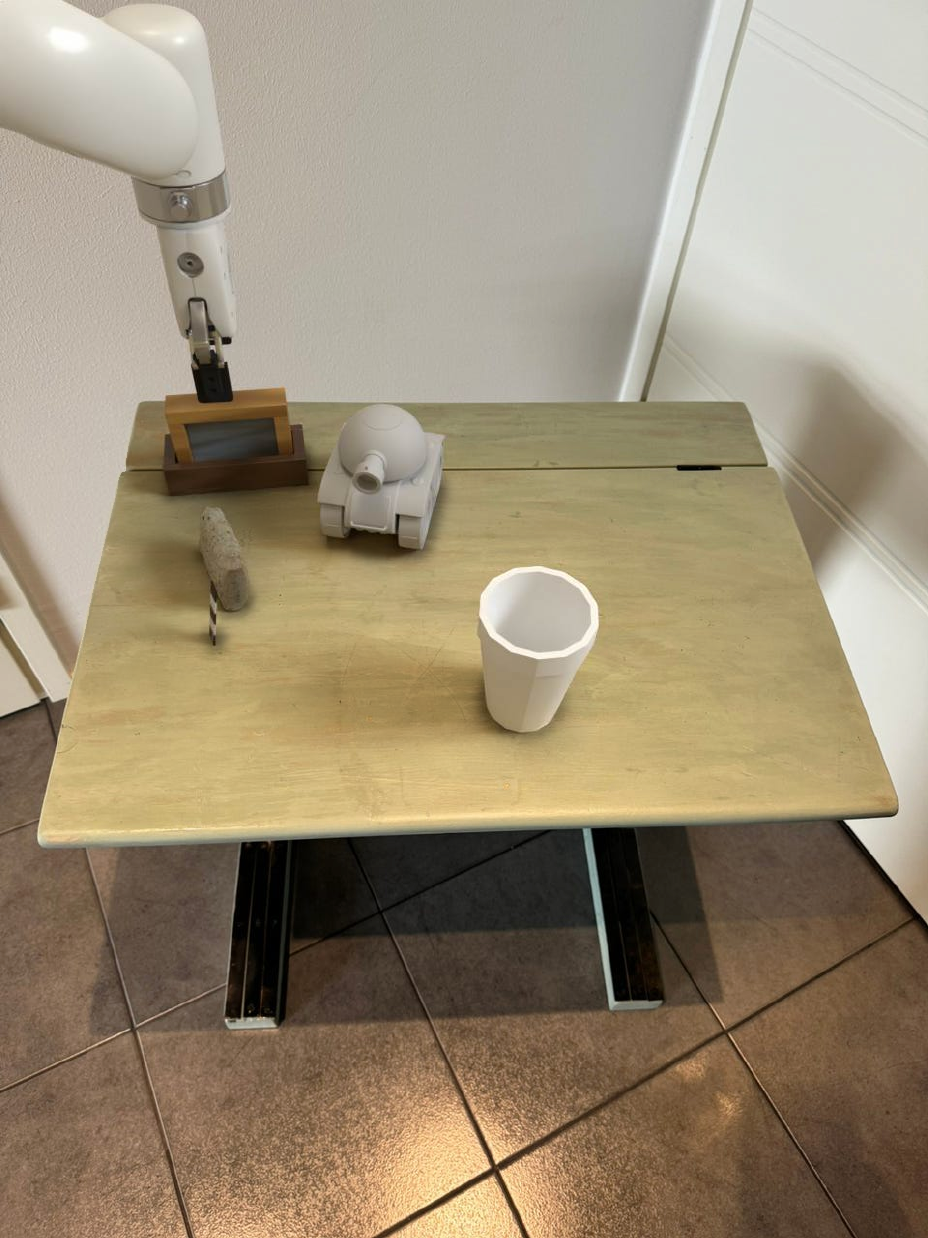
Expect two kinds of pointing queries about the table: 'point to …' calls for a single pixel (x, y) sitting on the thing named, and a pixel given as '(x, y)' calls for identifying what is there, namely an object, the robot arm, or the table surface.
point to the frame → (229, 426)
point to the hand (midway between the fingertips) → (216, 371)
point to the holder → (236, 470)
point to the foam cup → (533, 643)
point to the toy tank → (382, 476)
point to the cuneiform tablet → (222, 564)
